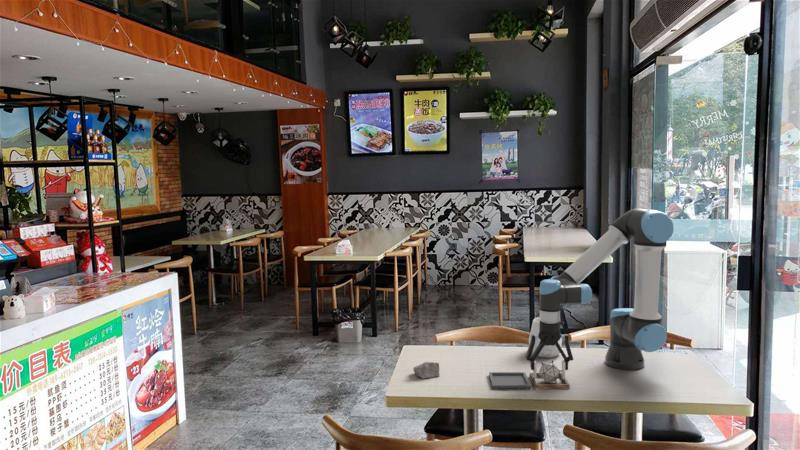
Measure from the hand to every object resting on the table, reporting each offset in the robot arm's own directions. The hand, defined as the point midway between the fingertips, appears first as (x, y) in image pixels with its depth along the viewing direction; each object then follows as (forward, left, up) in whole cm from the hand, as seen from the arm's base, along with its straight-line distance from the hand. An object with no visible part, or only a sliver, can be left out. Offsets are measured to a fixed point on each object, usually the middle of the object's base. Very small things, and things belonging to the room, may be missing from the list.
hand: (549, 377), depth 230 cm
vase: (-5, -34, -2) cm, 34 cm away
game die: (0, 0, -2) cm, 2 cm away
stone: (+47, -7, -2) cm, 47 cm away
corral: (0, 0, -2) cm, 2 cm away
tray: (+15, 0, -2) cm, 15 cm away
